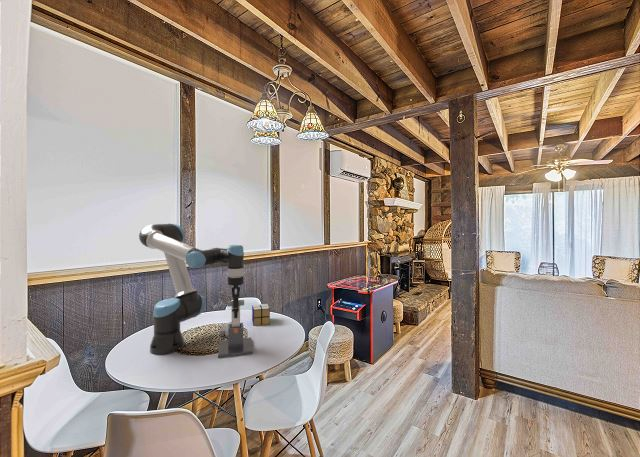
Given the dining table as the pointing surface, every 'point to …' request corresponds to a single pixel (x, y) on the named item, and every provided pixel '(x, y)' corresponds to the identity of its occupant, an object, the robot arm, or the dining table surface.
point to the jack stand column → (230, 303)
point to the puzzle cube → (260, 314)
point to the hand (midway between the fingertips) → (235, 319)
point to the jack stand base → (235, 343)
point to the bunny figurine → (224, 329)
